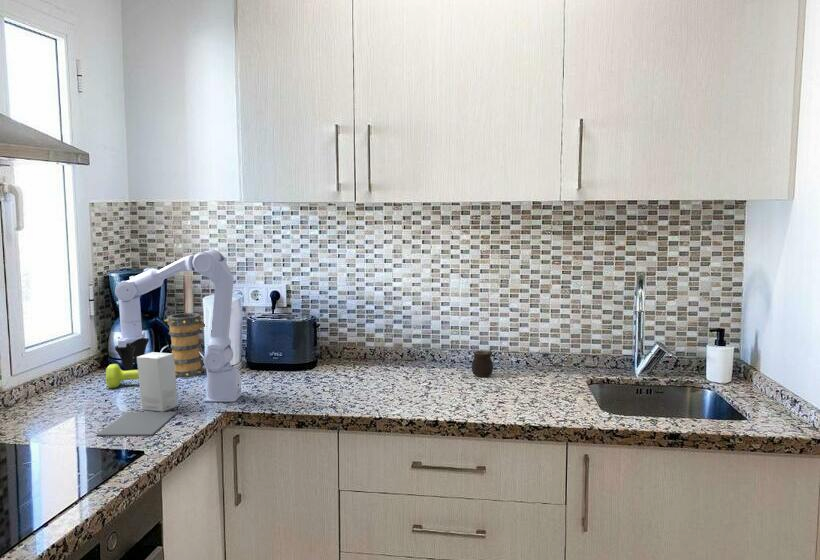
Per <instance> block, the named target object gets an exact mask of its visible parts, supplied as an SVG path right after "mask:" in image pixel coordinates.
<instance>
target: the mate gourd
mask: <svg viewBox="0 0 820 560" xmlns="http://www.w3.org/2000/svg"><path fill="white" fill-rule="evenodd" d="M493 349H494V347H492V348H491V349H490V350H484V349H483V350H482V349H481V350H475V351H473V360H472V362H471V371H472V374H473V375H474V376H475V377H478V378H488V377H489V376H490V375H492V374H493V371H494V362H493V360H492V358H491V357H492V353H491V351H492V350H493Z"/></svg>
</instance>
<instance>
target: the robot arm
mask: <svg viewBox="0 0 820 560" xmlns="http://www.w3.org/2000/svg"><path fill="white" fill-rule="evenodd" d="M184 271H189V272H194V271H195V272H197V273H199V274H200V275H202V276H204V277H206V278H208V279H209V280H210V281H211V282H212V283H213V285H214V293H213V294H214V297H213V307H212V319H211V320H212V330H211V334H210V339H209V342H208V344H207V351H206V353H205V354H204V356H203V358H202V361H203V362H204V366H205V367H204V368H205V370H206V384H207V387H206V388H207V396H206V397H204V399H203V400H202V401H203V402H204V403H206V402H207V403H210V402H212V403H213V402H216V403H217V402H220V403H221V402H227V403H228V402H229V403H230V402H236V401H237V400H238V399H239V398H240V397H241V396H242V394H243V392H242V379H241V375H242V374H241V371H240V369H238V368H233V366H232V364H231V361H232V360H233V357H234V351H233V348H232V345H231V344H232V340H231V339H230V329H231V316H232V302H233V293H234V292H233V290H234V280H235V279H234V276H233V274H232V271H231V270H230V268H229V265H228V263H227V258H226V257H225V256H224V255H223V254H222V253H221V252H220V251H218V250H217V249H211V248H210V249H208V250H206V251H199V252H198V253H195V254H191V255H187V256H184V257H181V258H180V259H178V260H176V261H174V262H172V263H170V264H168V265H167V266H164V267H163V268H160V269H156V268H149V267H148V268H145V269H143V272H141V273H139V274H137V275H131V276H129V279H128V280H122V281H120V282H119V283H118V284H116V286H115V287H114V295H115V297H116V298H117V300H118V307H119V309H118V310H119V320H120V322H119V323H120V335H117V339H118V341H117V345H115V346H114V350H115V352H116V353H117V354H118V356H119V358H120V360H121V363H122V366H123V368H124V371H128V370H133V368H134V364H137V357H138V356H141V355H145V354H146V350H147V346H148V343H149V341H150V340H149V339H150V338H149V337H146V331H145V330H143V328H142V327H143V325H142V312H141V301H140V299H141V296H142V295H145V294H147V293H149V292H151V291H153V290H156V289H158V288H160V287H162V286H163V283H164V281H165V279H169V278H171V277H173V276H175V275H177V274H178V275H179V274H180V273H182V272H184Z"/></svg>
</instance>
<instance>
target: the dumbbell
mask: <svg viewBox="0 0 820 560" xmlns="http://www.w3.org/2000/svg"><path fill="white" fill-rule="evenodd" d="M131 380H132V381H133V380H139V376H138V369H131V370H123V369H121V367H120V365H119V364H118V363H111V364H109V365H108V366H107V367H106V369H105V382H106V383H105V384H106V385H107V387H108V388H109V389H115V388H118V387H119V386H120V384H121V382H123V381H131Z"/></svg>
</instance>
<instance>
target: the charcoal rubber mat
mask: <svg viewBox="0 0 820 560" xmlns="http://www.w3.org/2000/svg"><path fill="white" fill-rule="evenodd" d="M177 414H178V411H164V412H160V411H140V412H139V411H127V412H126V413H124V414H122V415H121V416H120V417H119V418H117V419H116V420H114V422H113V421H112V423H111V424H109V425H107V426H106V427H105V428H104V429H102V430H101V431H100V432H98V433H97V434H96V437H150V436H151V437H152V436H153V435H155V434H156V433H157V432H159V430H160V429H162V428H163V427H164V426H165V425H166V424H167V423H168V422H170V420H172V419H173V418H174V417H175V416H177Z"/></svg>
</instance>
